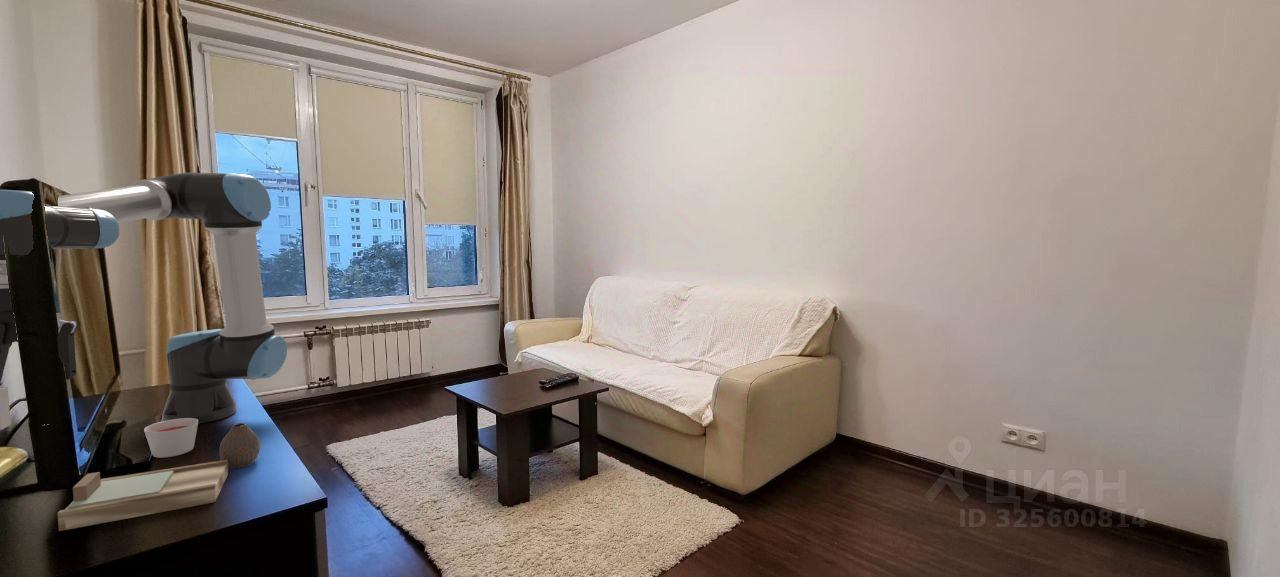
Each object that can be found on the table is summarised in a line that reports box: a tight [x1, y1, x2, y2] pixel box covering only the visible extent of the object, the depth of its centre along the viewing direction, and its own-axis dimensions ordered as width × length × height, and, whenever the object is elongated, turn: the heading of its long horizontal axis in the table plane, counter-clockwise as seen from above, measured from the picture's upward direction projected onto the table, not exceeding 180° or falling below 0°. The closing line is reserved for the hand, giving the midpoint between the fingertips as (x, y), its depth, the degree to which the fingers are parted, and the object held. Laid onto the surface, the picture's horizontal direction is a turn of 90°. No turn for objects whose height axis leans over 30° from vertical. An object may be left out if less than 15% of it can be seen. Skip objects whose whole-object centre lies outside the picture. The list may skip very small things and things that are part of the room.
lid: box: [66, 471, 174, 509], centre depth 92 cm, size 10×11×3 cm
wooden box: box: [57, 460, 229, 532], centre depth 95 cm, size 13×20×3 cm, turn 121°
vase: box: [218, 422, 261, 469], centre depth 110 cm, size 7×7×9 cm
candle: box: [143, 418, 199, 459], centre depth 115 cm, size 9×9×6 cm
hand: (26, 424), depth 86 cm, fingers open, 4 cm apart
